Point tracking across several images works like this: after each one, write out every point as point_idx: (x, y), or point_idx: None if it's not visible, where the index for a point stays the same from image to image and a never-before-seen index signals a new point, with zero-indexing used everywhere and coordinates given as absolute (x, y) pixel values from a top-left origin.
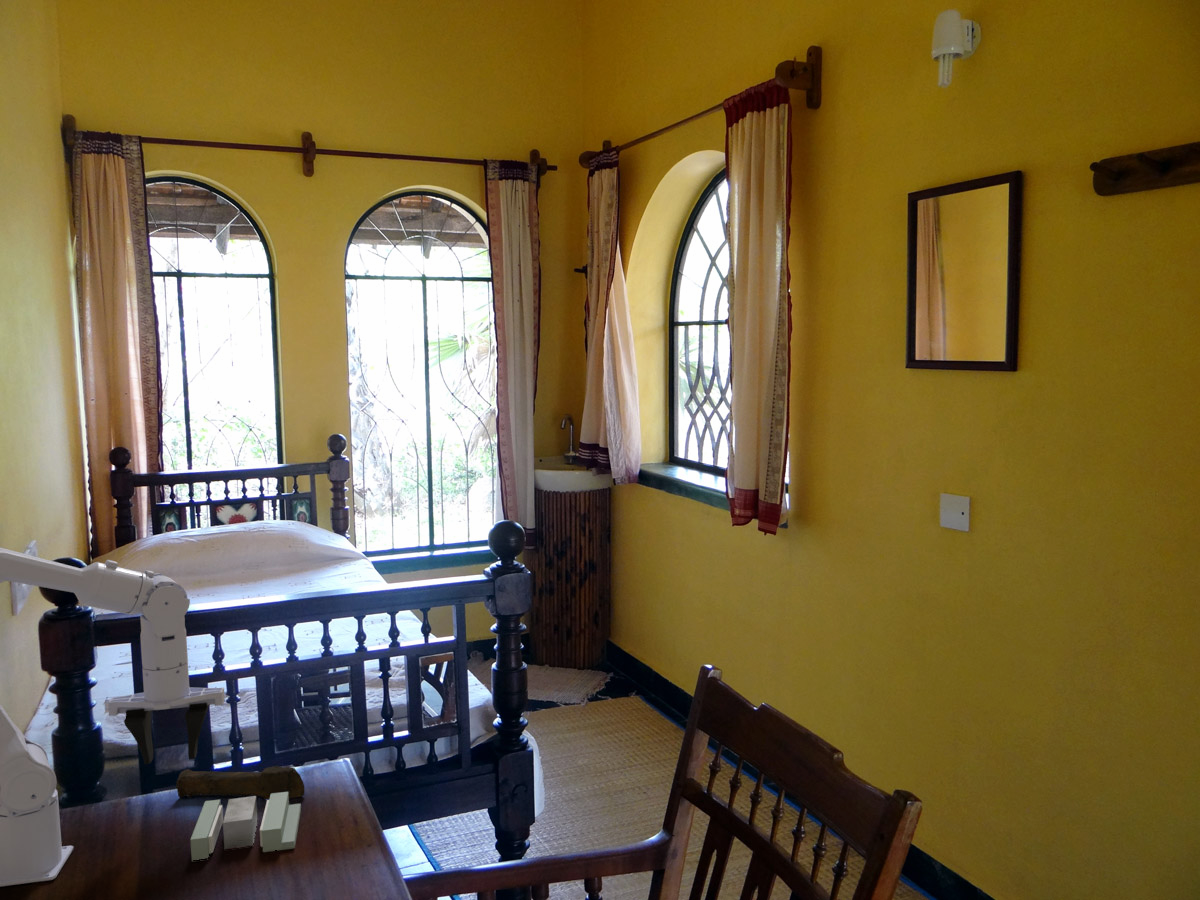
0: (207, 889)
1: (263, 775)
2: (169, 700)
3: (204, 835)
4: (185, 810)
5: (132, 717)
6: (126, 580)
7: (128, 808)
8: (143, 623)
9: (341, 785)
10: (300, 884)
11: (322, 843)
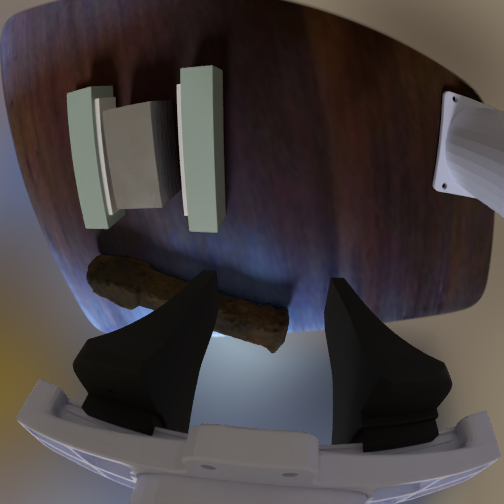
0: None
1: (132, 287)
2: (199, 482)
3: (186, 77)
4: (270, 267)
5: (414, 410)
6: None
7: (360, 298)
8: None
9: (69, 271)
10: (67, 8)
11: (49, 108)
